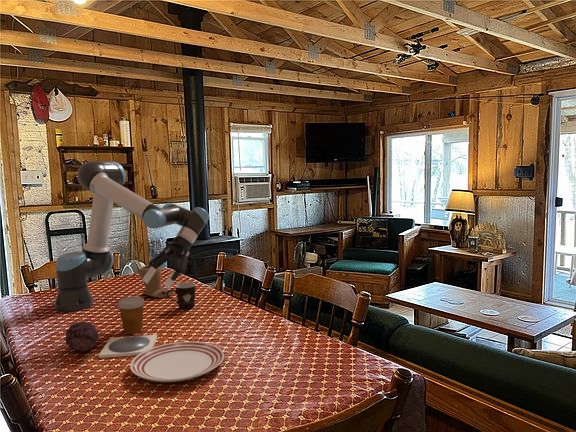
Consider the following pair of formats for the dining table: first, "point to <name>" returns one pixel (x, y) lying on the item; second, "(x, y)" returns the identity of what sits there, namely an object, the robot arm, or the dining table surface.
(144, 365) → the dinner plate
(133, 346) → the board
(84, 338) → the pine cone
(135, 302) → the disposable coffee cup
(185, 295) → the coffee mug
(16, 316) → the dining table surface
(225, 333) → the dining table surface
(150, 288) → the tan irregular lump
